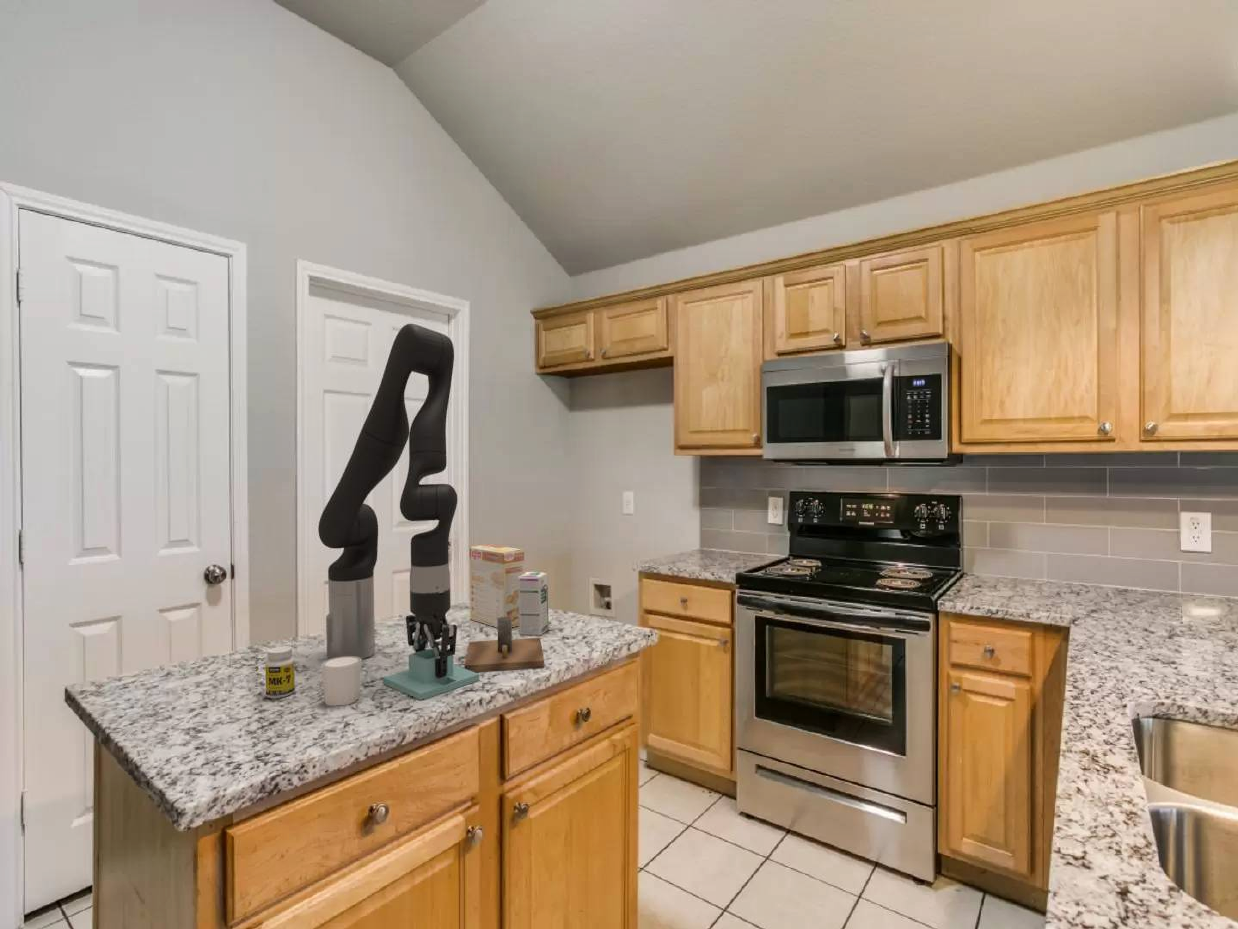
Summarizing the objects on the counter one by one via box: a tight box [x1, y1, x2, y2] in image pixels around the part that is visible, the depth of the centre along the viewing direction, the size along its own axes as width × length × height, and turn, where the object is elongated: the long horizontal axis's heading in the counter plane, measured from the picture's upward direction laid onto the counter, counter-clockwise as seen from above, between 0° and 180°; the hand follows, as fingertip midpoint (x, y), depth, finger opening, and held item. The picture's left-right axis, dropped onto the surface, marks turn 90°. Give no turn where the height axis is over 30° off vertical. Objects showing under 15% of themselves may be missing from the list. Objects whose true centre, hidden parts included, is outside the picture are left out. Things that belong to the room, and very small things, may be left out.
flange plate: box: [382, 647, 480, 701], centre depth 125 cm, size 13×13×6 cm
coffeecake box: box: [469, 543, 525, 629], centre depth 167 cm, size 15×7×20 cm, turn 46°
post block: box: [464, 617, 545, 673], centre depth 139 cm, size 16×16×8 cm
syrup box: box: [518, 571, 550, 637], centre depth 158 cm, size 6×6×14 cm
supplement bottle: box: [264, 645, 296, 699], centre depth 119 cm, size 5×5×8 cm
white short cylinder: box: [320, 656, 363, 706], centre depth 116 cm, size 7×7×7 cm
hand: (431, 672), depth 125 cm, fingers closed on flange plate, 6 cm apart
